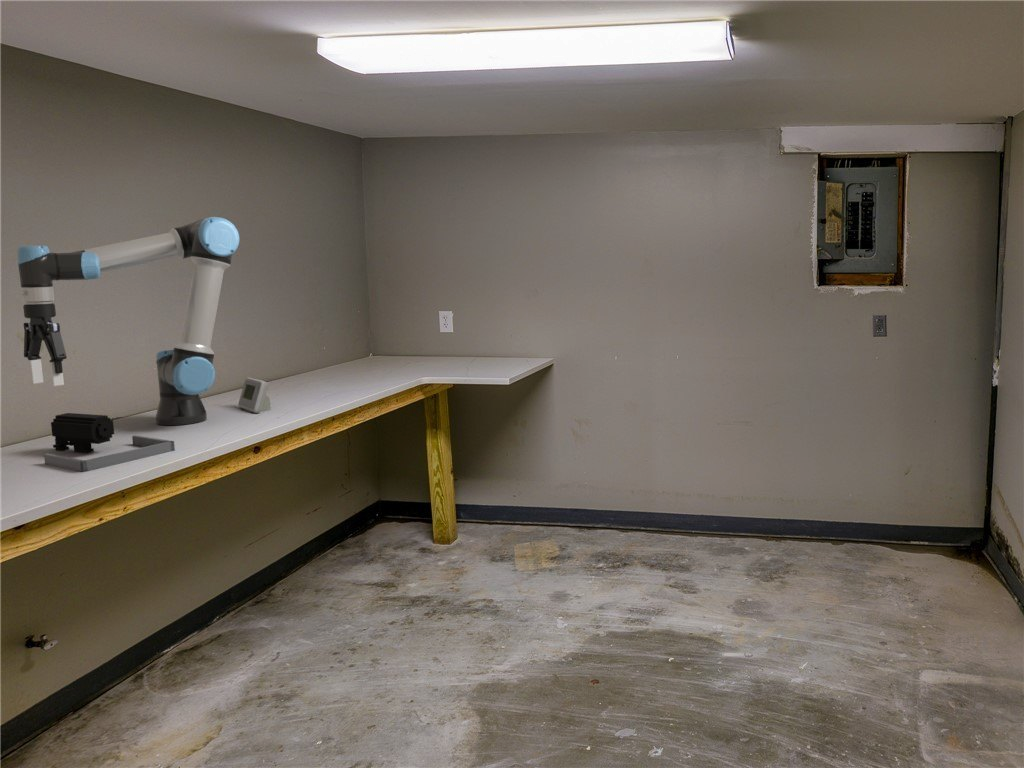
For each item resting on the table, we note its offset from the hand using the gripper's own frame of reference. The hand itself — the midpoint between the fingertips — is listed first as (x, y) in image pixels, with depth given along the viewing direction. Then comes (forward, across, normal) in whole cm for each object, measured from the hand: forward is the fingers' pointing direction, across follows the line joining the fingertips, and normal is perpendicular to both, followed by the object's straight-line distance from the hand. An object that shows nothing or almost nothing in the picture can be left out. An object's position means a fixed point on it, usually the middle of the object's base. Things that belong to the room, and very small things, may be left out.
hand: (48, 384), depth 222 cm
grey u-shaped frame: (+18, +27, 0) cm, 32 cm away
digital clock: (+18, +7, +64) cm, 67 cm away
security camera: (+18, +14, 0) cm, 22 cm away
